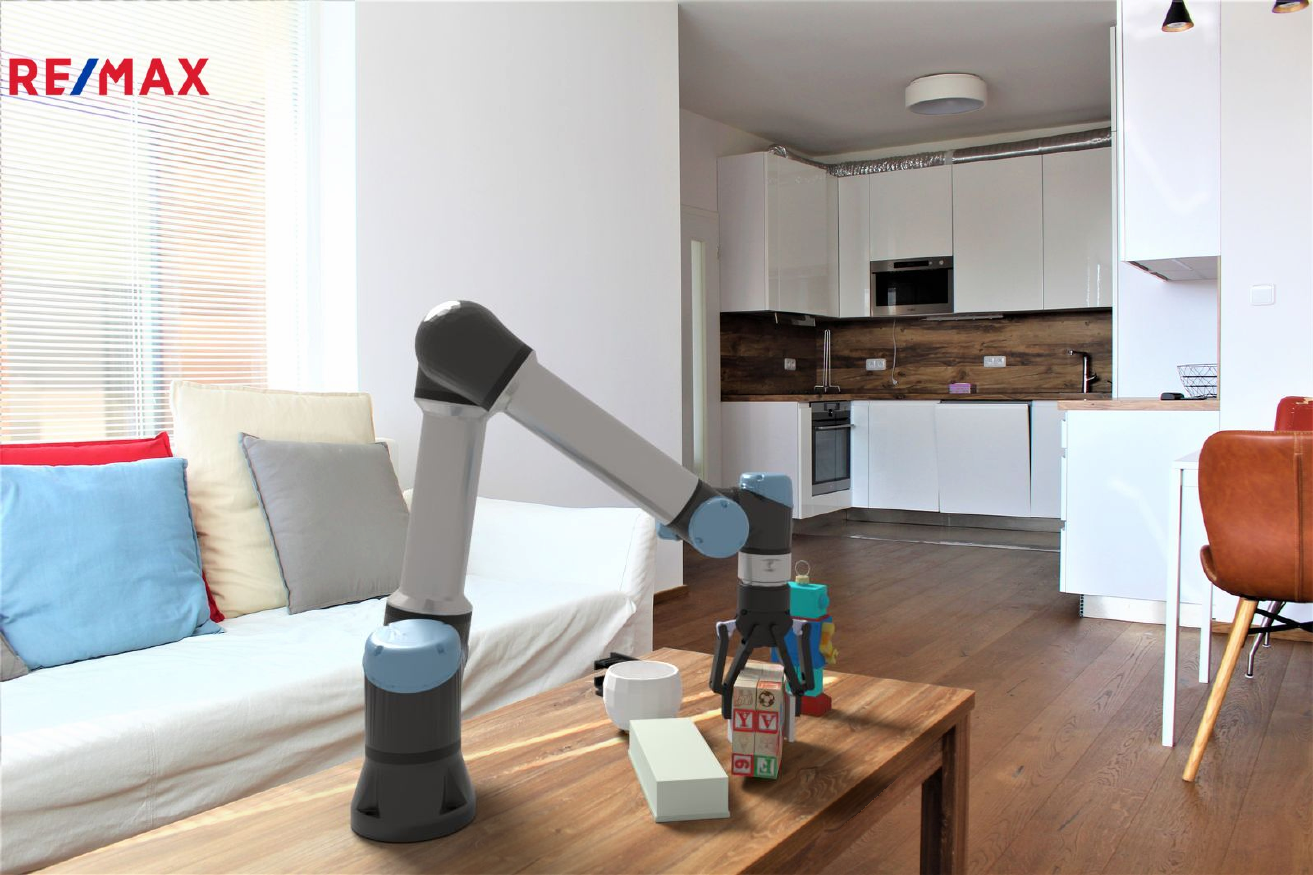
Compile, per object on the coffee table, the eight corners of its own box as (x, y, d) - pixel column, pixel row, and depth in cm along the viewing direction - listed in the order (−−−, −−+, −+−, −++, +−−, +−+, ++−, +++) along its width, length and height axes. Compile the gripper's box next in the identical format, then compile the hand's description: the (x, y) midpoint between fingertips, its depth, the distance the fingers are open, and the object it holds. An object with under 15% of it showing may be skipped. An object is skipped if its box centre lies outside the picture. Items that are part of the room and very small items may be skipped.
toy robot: (841, 710, 172) (842, 560, 171) (826, 719, 167) (828, 566, 166) (778, 698, 178) (779, 554, 177) (762, 707, 173) (763, 559, 172)
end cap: (660, 698, 178) (660, 660, 178) (629, 707, 174) (629, 667, 173) (623, 686, 186) (623, 649, 185) (592, 693, 181) (592, 655, 181)
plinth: (655, 822, 127) (655, 782, 126) (627, 753, 151) (627, 719, 150) (729, 817, 128) (730, 777, 128) (690, 750, 152) (691, 716, 152)
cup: (662, 714, 169) (663, 656, 169) (695, 738, 158) (695, 675, 157) (592, 724, 164) (592, 664, 164) (620, 748, 153) (620, 684, 152)
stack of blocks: (746, 725, 159) (748, 646, 159) (786, 729, 158) (789, 649, 158) (730, 775, 138) (733, 684, 138) (777, 779, 137) (780, 688, 136)
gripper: (699, 587, 141) (695, 751, 142) (842, 585, 144) (838, 746, 145) (688, 577, 148) (685, 733, 149) (825, 575, 152) (821, 728, 153)
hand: (760, 739), depth 147 cm, fingers closed on stack of blocks, 8 cm apart
